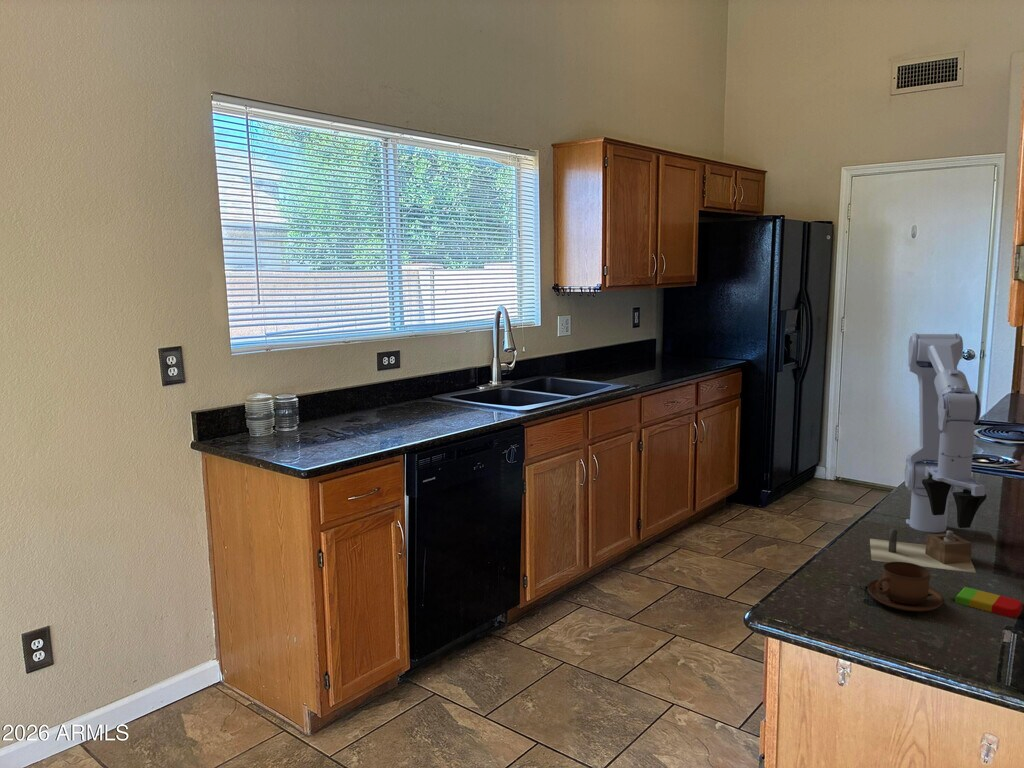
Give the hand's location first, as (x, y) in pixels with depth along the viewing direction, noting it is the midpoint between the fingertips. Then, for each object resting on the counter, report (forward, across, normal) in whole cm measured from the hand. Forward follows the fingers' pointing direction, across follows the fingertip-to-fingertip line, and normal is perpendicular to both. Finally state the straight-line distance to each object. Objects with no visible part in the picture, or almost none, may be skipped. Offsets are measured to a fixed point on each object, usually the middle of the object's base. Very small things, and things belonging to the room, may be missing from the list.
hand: (950, 520), depth 151 cm
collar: (+8, 0, 0) cm, 8 cm away
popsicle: (+9, +17, -8) cm, 21 cm away
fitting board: (+9, -2, -4) cm, 10 cm away
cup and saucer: (+9, +15, -19) cm, 26 cm away
